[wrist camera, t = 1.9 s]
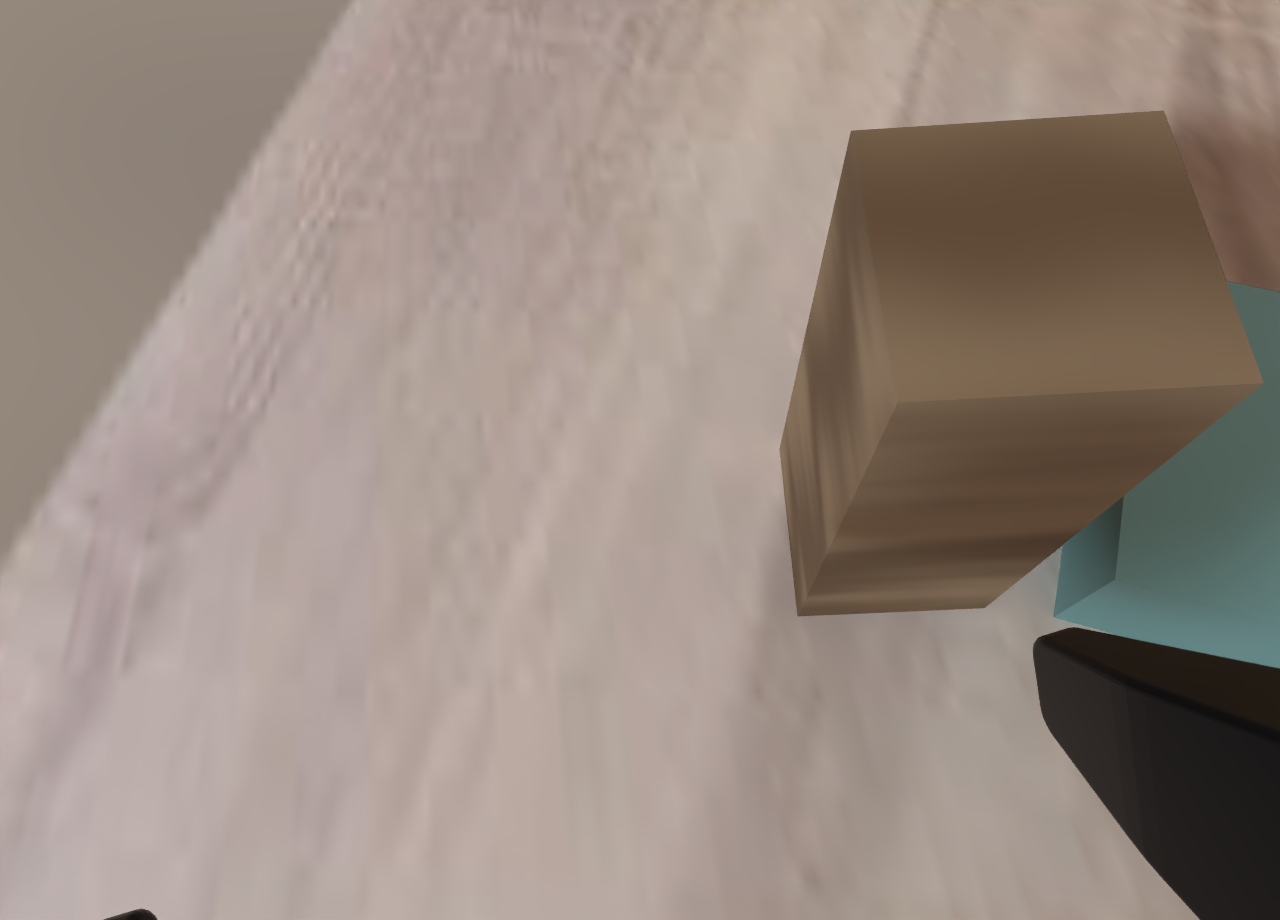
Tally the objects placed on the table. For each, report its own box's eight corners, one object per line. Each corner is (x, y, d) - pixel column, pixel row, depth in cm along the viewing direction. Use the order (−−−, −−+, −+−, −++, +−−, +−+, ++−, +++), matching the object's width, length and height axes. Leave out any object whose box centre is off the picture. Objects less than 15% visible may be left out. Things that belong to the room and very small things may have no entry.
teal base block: (1415, 721, 22) (1559, 697, 18) (1048, 620, 24) (1115, 579, 20) (1406, 415, 25) (1527, 343, 22) (1085, 343, 27) (1148, 265, 23)
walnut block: (984, 608, 23) (1264, 383, 12) (797, 616, 24) (898, 402, 12) (951, 439, 25) (1163, 110, 14) (779, 448, 26) (851, 130, 14)
